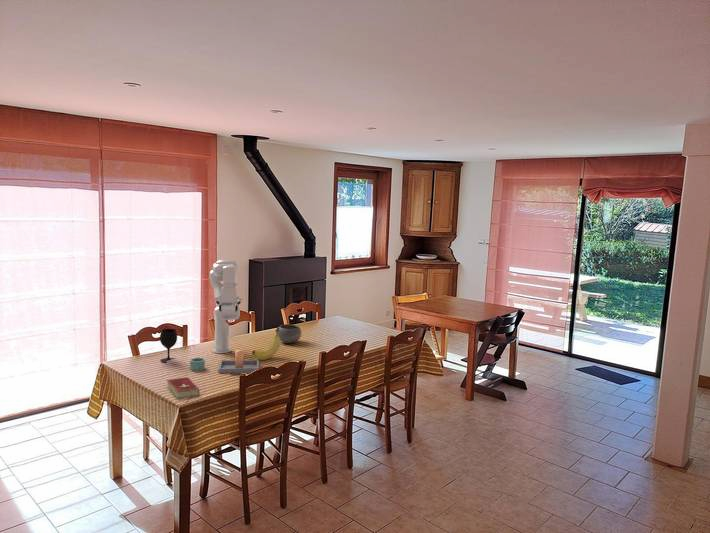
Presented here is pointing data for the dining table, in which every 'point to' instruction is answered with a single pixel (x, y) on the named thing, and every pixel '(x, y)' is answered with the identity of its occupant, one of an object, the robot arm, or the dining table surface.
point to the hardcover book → (183, 387)
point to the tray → (229, 367)
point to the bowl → (289, 333)
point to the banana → (268, 349)
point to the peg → (239, 358)
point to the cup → (197, 364)
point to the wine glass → (168, 341)
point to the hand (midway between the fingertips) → (228, 311)
